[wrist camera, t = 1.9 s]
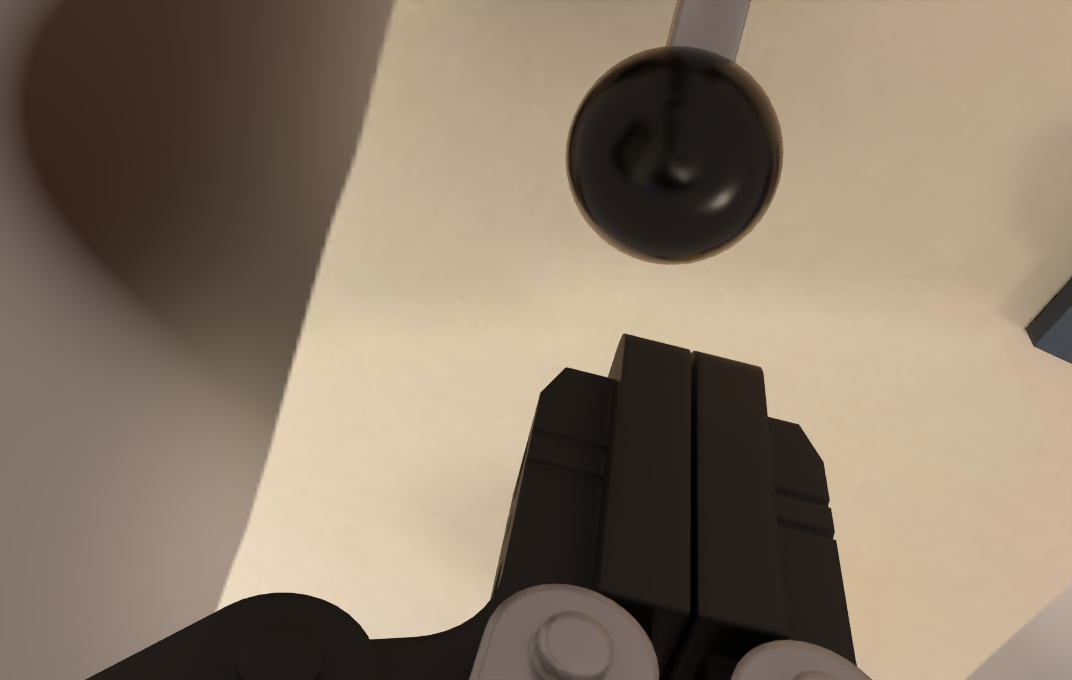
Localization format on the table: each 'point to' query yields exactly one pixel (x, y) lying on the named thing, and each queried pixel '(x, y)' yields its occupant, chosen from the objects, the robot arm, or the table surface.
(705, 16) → the lever
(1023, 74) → the table surface
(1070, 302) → the button box
